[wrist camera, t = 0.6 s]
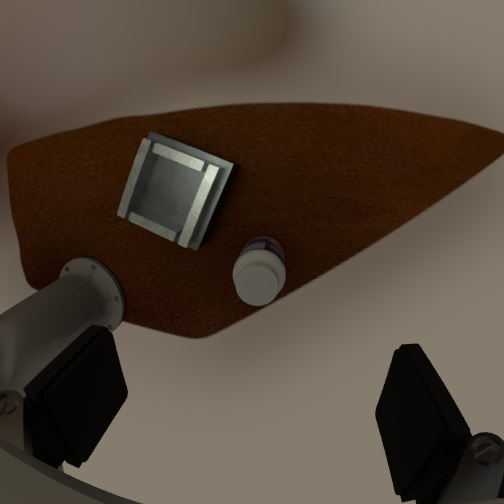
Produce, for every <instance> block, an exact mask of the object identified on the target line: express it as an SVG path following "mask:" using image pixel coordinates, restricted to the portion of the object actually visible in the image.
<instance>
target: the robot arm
mask: <svg viewBox="0 0 504 504" xmlns="http://www.w3.org/2000/svg"><path fill="white" fill-rule="evenodd" d="M124 313H125V301H124V296H123V292H122V289H121V287H120V285H119V283H118V281H117V280H116V278H115V276H114V275H113V274H112V273H111V271H110V270H109V269H108V268H107V267H105V266H104V265H103V264H102V263H100V262H99V261H97V260H95V259H92V258H89V257H78V258H75V259H73V260H71V261H69V262H68V263H67V264H65V266H64V267H63V269H62V270H61V273H60V276H59V279H58V280H56V281H55V282H53V283H51V284H49V285H48V286H46V287H44V288H43V289H41V290H39V291H38V292H36V293H34V294H33V295H31V296H29V297H28V298H26V299H24V300H23V301H22V302H20V303H18V304H16V305H15V306H13V307H12V308H10V309H8V310H7V311H5V312H4V313H2V314H1V315H0V504H142V503H138V502H135V501H132V500H129V499H126V498H123V497H120V496H118V495H115V494H112V493H109V492H107V491H104V490H102V489H99V488H97V487H94V486H92V485H90V484H87V483H85V482H83V481H80V480H78V479H76V478H74V477H72V476H70V475H67V474H65V473H64V471H63V466H62V463H63V462H64V460H65V461H66V462H67V463H69V464H71V465H73V466H75V467H77V468H79V467H80V466H81V464H82V462H86V461H87V460H88V459H89V457H90V455H91V454H92V452H93V451H94V449H95V447H96V446H97V444H98V443H99V441H100V439H101V438H102V436H103V435H104V433H105V432H106V430H107V428H108V427H109V425H110V424H111V422H112V420H113V419H114V417H115V416H116V414H117V413H118V411H119V410H120V408H121V406H122V405H123V403H124V402H125V400H126V398H127V395H128V389H127V386H126V383H125V379H124V376H123V372H122V369H121V365H120V361H119V357H118V354H117V350H116V346H115V341H114V337H113V334H112V333H111V332H113V331H114V330H115V329H116V328H117V327H118V326H119V325H120V324H121V322H122V320H123V318H124ZM375 416H376V421H377V424H378V428H379V431H380V435H381V438H382V442H383V446H384V450H385V454H386V457H387V462H388V466H389V469H390V474H391V478H392V482H393V486H394V491H395V493H396V495H400V496H401V501H402V502H407V501H411V500H416V504H504V441H503V440H502V439H501V438H500V437H499V436H497V435H495V434H493V433H488V432H482V433H478V434H476V435H474V436H472V434H471V433H470V428H469V426H468V425H467V423H466V421H465V419H464V417H463V416H462V414H461V412H460V410H459V408H458V407H457V405H456V403H455V401H454V400H453V398H452V396H451V395H450V393H449V391H448V390H447V388H446V386H445V385H444V383H443V381H442V380H441V378H440V376H439V375H438V373H437V372H436V370H435V368H434V367H433V365H432V364H431V362H430V360H429V359H428V357H427V356H426V354H425V353H424V351H423V350H422V348H421V347H420V345H419V344H402V345H401V346H400V347H399V349H396V350H395V351H394V354H393V358H392V361H391V364H390V368H389V371H388V375H387V378H386V381H385V384H384V387H383V390H382V393H381V396H380V399H379V402H378V404H377V407H376V411H375Z"/></svg>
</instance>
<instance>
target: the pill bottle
mask: <svg viewBox="0 0 504 504" xmlns="http://www.w3.org/2000/svg"><path fill="white" fill-rule="evenodd" d="M285 278H286V266H285V254H284V251H283V248H282V247H281V245H280V244H279V243H278V242H277V241H276V240H274V239H272V238H269V237H264V236H261V237H256V238H253V239H251V240H250V241H248V242H247V243H246V245H245V246H244V247H243V249H242V251H241V253H240V255H239V257H238V259H237V261H236V263H235V265H234V268H233V281H234V284H235V286H236V291H237V293H238V295H239V297H240V298H241V299H242V300H243V301H244V302H246V303H248V304H250V305H254V306H262V305H265V304H268V303H269V302H271V301H272V300H273V299H274V298H275V297H276V295H277V294H278V293H279V292H280V290H281V289H282V287H283V285H284V283H285Z"/></svg>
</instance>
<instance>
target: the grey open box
mask: <svg viewBox="0 0 504 504" xmlns="http://www.w3.org/2000/svg"><path fill="white" fill-rule="evenodd" d="M239 167H240V165H239V164H237V163H234V162H232V161H230V160H227V159H225V158H222V157H220V156H218V155H215V154H213V153H210V152H208V151H205V150H203V149H200V148H198V147H195V146H193V145H190V144H187V143H185V142H182V141H180V140H177V139H174V138H172V137H169V136H166V135H162V134H158V133H155V132H151V131H150V133H149V135H148V138H147V139H146V138H143V140H142V142H141V145H140V148H139V150H138V153H137V156H136V158H135V161H134V164H133V167H132V170H131V172H130V175H129V178H128V181H127V184H126V187H125V190H124V193H123V197H122V200H121V203H120V206H119V210H118V213H117V215H118V216H121V217H123V218H128V220H129V221H131V222H133V223H135V224H137V225H139V226H141V227H143V228H145V229H147V230H149V231H152V232H154V233H156V234H158V235H160V236H162V237H164V238H166V239H168V240H170V241H173V242H174V241H177V242H178V244H179V245H181V246H183V247H185V248H187V247H189V248H192V249H194V250H196V251H198V250H199V249H200V248H201V247H202V246H203V245H204V244H205V243H206V242H207V241H208V239H209V237H210V234H211V232H212V229H213V227H214V225H215V222H216V220H217V217H218V215H219V213H220V210H221V208H222V206H223V203H224V201H225V199H226V196H227V194H228V192H229V189H230V187H231V185H232V183H233V180H234V178H235V176H236V173H237V171H238V169H239Z"/></svg>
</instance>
